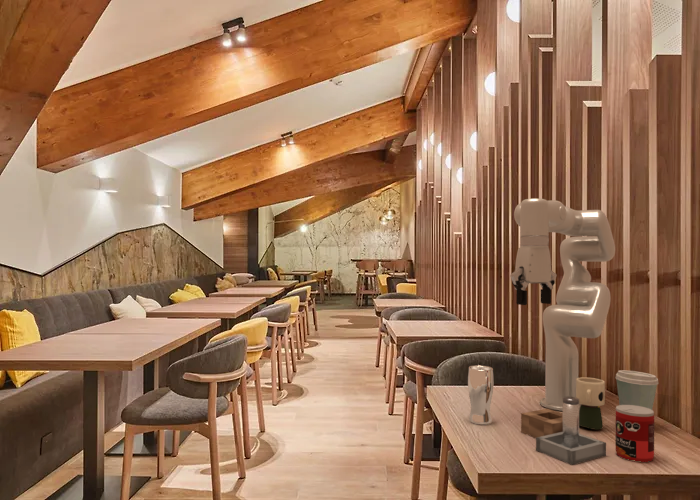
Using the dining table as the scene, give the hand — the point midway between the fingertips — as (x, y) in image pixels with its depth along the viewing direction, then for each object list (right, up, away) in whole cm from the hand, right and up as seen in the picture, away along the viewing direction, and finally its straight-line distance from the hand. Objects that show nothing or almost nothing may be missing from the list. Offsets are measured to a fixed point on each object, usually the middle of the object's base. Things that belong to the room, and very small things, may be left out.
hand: (533, 304), depth 146 cm
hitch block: (0, -33, -10) cm, 35 cm away
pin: (+1, -32, -23) cm, 39 cm away
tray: (+1, -33, -23) cm, 40 cm away
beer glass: (-15, -33, +1) cm, 36 cm away
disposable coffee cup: (+28, -34, -2) cm, 44 cm away
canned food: (+15, -33, -24) cm, 44 cm away
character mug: (+14, -34, -4) cm, 37 cm away
